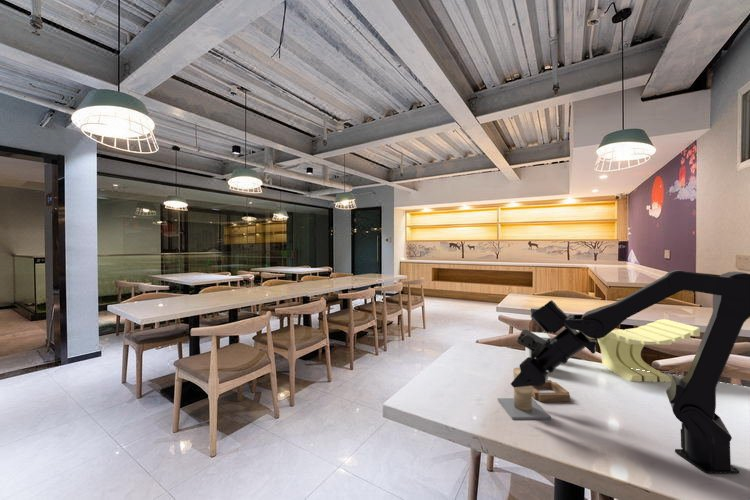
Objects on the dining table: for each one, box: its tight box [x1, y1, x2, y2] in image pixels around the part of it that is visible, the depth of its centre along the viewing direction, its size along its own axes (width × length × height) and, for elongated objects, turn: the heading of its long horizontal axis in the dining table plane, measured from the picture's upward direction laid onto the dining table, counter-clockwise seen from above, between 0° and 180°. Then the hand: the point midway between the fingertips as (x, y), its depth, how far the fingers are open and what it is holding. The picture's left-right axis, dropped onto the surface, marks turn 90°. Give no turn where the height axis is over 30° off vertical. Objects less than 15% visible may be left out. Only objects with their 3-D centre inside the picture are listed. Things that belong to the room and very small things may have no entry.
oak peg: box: [513, 367, 533, 411], centre depth 83 cm, size 4×4×10 cm
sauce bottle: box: [528, 307, 547, 334], centre depth 123 cm, size 6×6×20 cm
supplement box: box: [524, 332, 552, 374], centre depth 111 cm, size 7×7×13 cm
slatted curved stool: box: [576, 318, 701, 383], centre depth 106 cm, size 30×16×18 cm, turn 85°
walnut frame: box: [531, 379, 571, 403], centre depth 91 cm, size 10×10×2 cm
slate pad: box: [497, 397, 552, 420], centre depth 83 cm, size 10×10×1 cm
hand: (516, 379), depth 84 cm, fingers open, 9 cm apart
